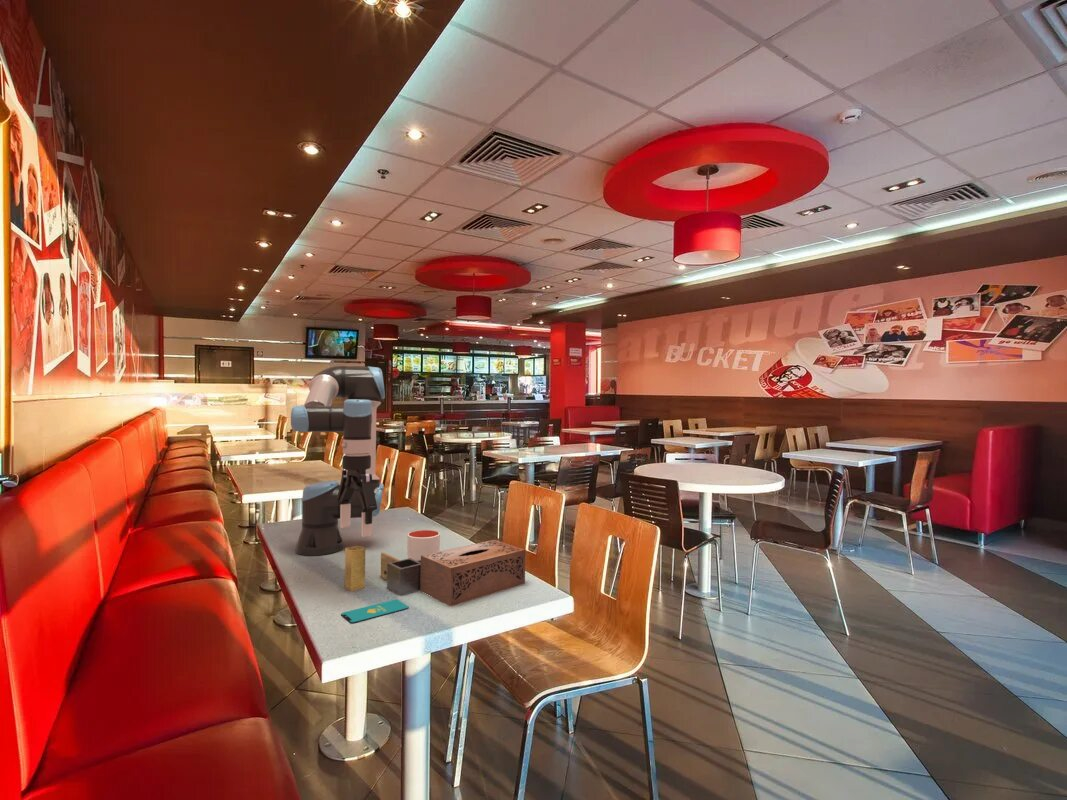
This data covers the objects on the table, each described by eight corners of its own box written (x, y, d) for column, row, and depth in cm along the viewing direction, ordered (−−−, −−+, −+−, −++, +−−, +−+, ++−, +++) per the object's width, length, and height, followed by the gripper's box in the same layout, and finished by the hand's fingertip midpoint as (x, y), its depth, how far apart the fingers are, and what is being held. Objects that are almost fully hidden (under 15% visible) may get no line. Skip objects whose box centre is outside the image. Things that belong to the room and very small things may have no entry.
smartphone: (410, 606, 133) (351, 622, 123) (409, 610, 133) (351, 625, 123) (396, 598, 138) (339, 613, 128) (396, 601, 138) (339, 616, 128)
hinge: (370, 579, 154) (370, 555, 154) (421, 567, 166) (422, 544, 166) (399, 595, 141) (400, 569, 141) (453, 581, 153) (453, 557, 153)
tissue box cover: (493, 572, 163) (493, 539, 163) (524, 584, 152) (525, 549, 152) (420, 591, 145) (420, 555, 145) (450, 607, 134) (450, 568, 134)
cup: (432, 571, 162) (432, 538, 162) (401, 568, 164) (402, 536, 164) (444, 561, 171) (444, 531, 171) (415, 559, 173) (415, 529, 173)
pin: (344, 587, 147) (345, 547, 147) (358, 584, 150) (359, 545, 150) (350, 591, 144) (351, 550, 144) (364, 587, 147) (365, 548, 147)
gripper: (325, 452, 153) (324, 525, 153) (364, 458, 135) (362, 542, 135) (350, 451, 159) (349, 521, 158) (391, 457, 140) (389, 537, 140)
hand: (355, 531), depth 147 cm, fingers open, 13 cm apart
